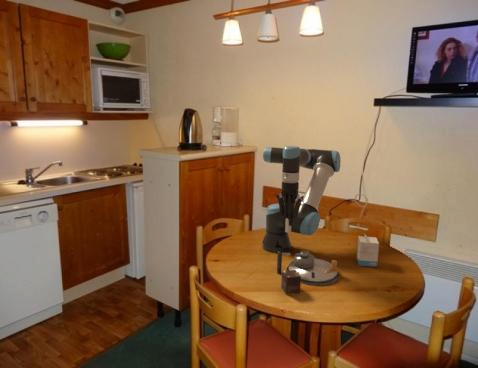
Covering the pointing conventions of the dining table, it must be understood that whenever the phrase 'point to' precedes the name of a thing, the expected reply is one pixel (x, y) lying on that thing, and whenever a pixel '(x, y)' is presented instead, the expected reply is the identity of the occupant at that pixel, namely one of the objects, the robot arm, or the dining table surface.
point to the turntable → (317, 271)
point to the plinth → (319, 283)
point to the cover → (304, 260)
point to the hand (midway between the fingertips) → (288, 231)
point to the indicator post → (280, 261)
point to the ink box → (367, 251)
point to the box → (291, 282)
